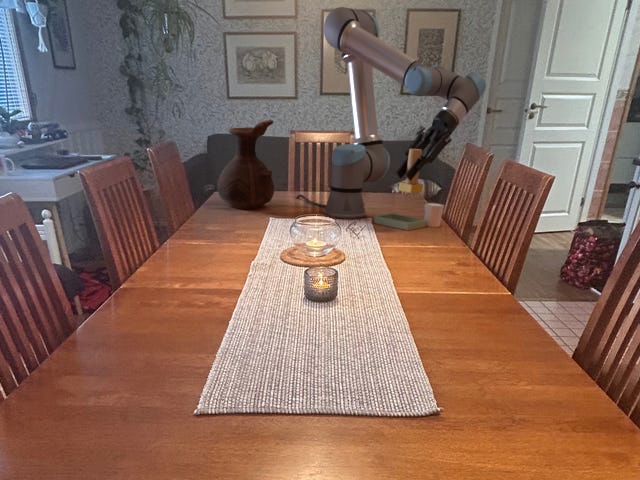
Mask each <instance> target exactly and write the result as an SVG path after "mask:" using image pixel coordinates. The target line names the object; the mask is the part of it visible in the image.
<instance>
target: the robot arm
mask: <svg viewBox="0 0 640 480" xmlns="http://www.w3.org/2000/svg"><path fill="white" fill-rule="evenodd" d="M323 35H324V39H325V40H326V42H327V43H328V45H329V46H330V47H332V48H333V49H335V50H337V51H339V52H340V53H341V61H342V62H344V63H345V64H346V68H347V69H346V70H347V77H348V87H349V96H350V97H349V98H350V106H351V107H350V108H351V114H352V115H351V116H352V126H353V133H354V140H353V142H352V143H347V144H339V145H337V146H335V147H334V148H333V150H332V157H331V172H330V173H331V175H330V191H329V195H328V198H327V202H326V204H322V203H319V202H318V203H317V202H314V201H311V200H310V199H309V198H307V197H306V196H305V195H303V194H301V193H300V194H298V195H297V196H296V199H299V198H301V199H303V200H304V201H306V202H307V203H308V204H309V205H312V206H315V207H319V208H324V209H323V210H324V211H323V214H324V216H326V217H328V216H329V218H334V219H341V220H342V219H343V220H355V219H356V220H357V219H358V220H359V219H363V218H365V217H366V208H365V207H366V204H365V202H364V198H363V187H364V186H363V185H364V183H374V182H377V181H380V180H382V178H384V177H385V176H386V174H387V173H388V172H389V169H390V166H391V156H390V153H389V151H388V150H387V149H386V148H385V147H384V140H383V138H381V136H380V135H379V132H378V121H377V111H376V109H377V108H376V99H375V88H374V77H373V69H375V70H378V71H379V72H381V73H383V74H384V75H385V76H387V77H388V78H390V79H392V80H394V81H395V82H397V83H398V84H400V85H401V86H403V87H404V88H405V89H406V91H407V92H408V93H409V94H410V95H413V96H416V97H422V96H423V97H427V96H428V97H429V96H430V97H440V98H442V99H444V100H447V101H446V102H445V103H444V105H443V106H442V107H441V108H440V110H439V111H438V112H437V113H436V115H435V116H434V117H433V119H432V124H431V126H430V127H429V128H428V129H427V130H425V131H424V130H423V129H420V130H419V131H418V134H417V136H416V137H415V139H414V140H413V141H412V143H411V144H410V145H409V146H408V147H407V149H406V150H405V152H404V155H405V157H406V158H405V159H404V161H402V163H401V165H400V166H399V167H398V169H397V170H396V171H395V173H396V175H397V176H398V178H399V179H400V180H401V179H403V178H404V176H405V177H406V176H407V177H408V179H409V181H411V180H412V179H413V177H414V176H415V175H416V174H417V172H418V171H419V172H420V171H421V169H422V168H423V167H424V166H425V165H427V164H432V163H433V162H434V161H435V160H436V159H437V157H438V156H440V154H441V153H442V151H443V150H444V149H445V147H446V146H447V145H448V144H450V143H451V142H452V140H453V139H452V137H451V136H452V135H453V133H454V132H455V130H456V129H457V128H458V126H459V125H460V124H461V122H462V121H463V120H464V119H465V117H466V116H467V115H468V113H469V112H470V111H471V110H472V109H473V108H474V106H475V105H476V103H477V102H478V101H480V98H482V96H483V94H484V93H485V91H486V89H487V83H486V80H485V78H484V76H482V75H481V73H478V72H477V71H470V72H469V73H468V74H467V75H466V76H462V75H460V74H457V73H455V72H453V71H451V70H449V69H447V68H445V67H444V66H440V65H437V64H432V65H431V66H429V67H428V66H426V65H425V64H423V63H421V62H419V61H417V60H416V59H415V58H413V57H411V56H410V55H408V54H406V53H405V52H403V51H401V50H399V49H397V48H396V47H394V46H392V45H391V44H389V43H387V42H386V41H384V40H382V39H381V38H380V28H379V24H378V21H377V20H376V18H375V17H374V15H372V13H370V12H368V11H366V10H364V9H355V8H350V7H346V6H339V7H336V8H334V9H332V10H331V11H330V12H329V13H328V14H327V16H326V17H325V20H324V24H323ZM409 149H421V150H422V154H421V156H420V157H421V159H420V158H418V159H417V160H416V162H415V163H414V164H413V165H412V167H411V168H410V169H409V171H408V172H407V164H408V156H409Z"/></svg>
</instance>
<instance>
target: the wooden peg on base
mask: <svg viewBox="0 0 640 480" xmlns="http://www.w3.org/2000/svg"><path fill="white" fill-rule="evenodd" d="M422 154H423V151H422V150H421V149H409V156H408V164H407V172H408V171H409V169H410V168H411V167H412V165H413V164H414V163H415V162H416V160H417V159H418V158H420V159H421V157H420V156H421V155H422ZM407 172H406V173H407ZM419 175H420V171H418V172H417V174H416V175H415V176H414V177H413V179H412V180H411V181H409V179H408V177H407V176H406V175H405V181H400V182H399V185H398V191H400V192H404V193H407V194H418V193H419V194H420V193H423V189H424V183H418V182H419Z"/></svg>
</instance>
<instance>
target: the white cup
mask: <svg viewBox="0 0 640 480" xmlns="http://www.w3.org/2000/svg"><path fill="white" fill-rule="evenodd" d="M444 208H445V205H444V204H442V203H436V202H428V203H424V210H423V212H424V213H423V220H426V226H425V227H428V228H429V227H431V228H437V227H440V225H441V220H442V217H443V212H444Z"/></svg>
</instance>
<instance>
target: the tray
mask: <svg viewBox="0 0 640 480" xmlns="http://www.w3.org/2000/svg"><path fill="white" fill-rule="evenodd" d="M373 223H374V224H378V225H382V226H386V227H391V228H395V229H400V230H403V231H411V230H417V229H423V228H426V227H427V226H426V220H424V218H419V217H414V216H407V215H403V214H399V213H394V212H392V213H386V214H385V213H384V214H379V215H378V214H377V215H374V217H373Z"/></svg>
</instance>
